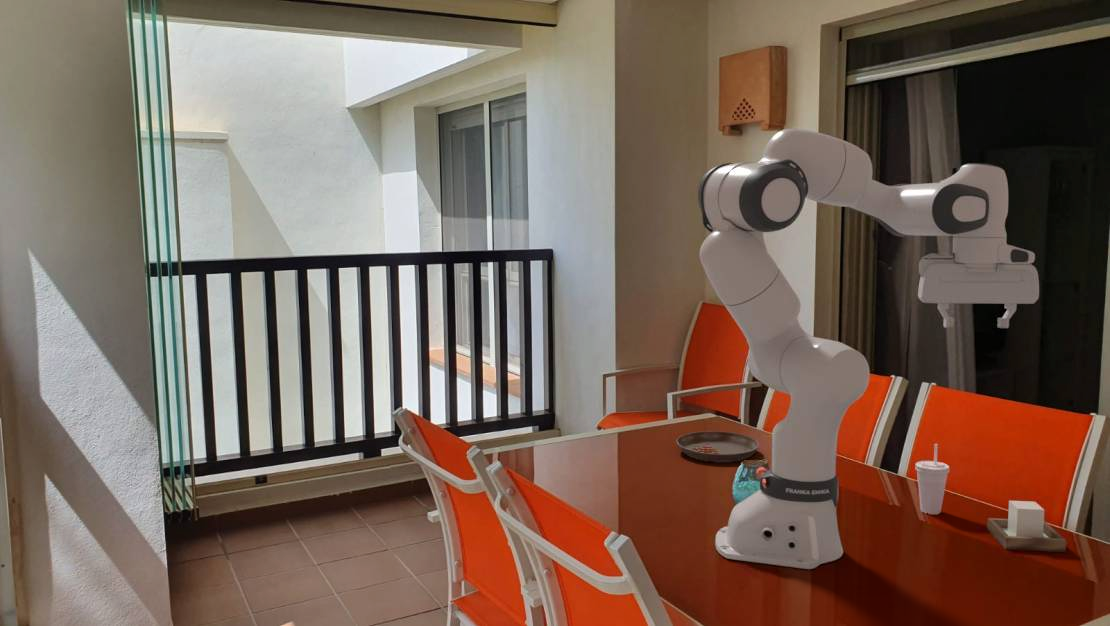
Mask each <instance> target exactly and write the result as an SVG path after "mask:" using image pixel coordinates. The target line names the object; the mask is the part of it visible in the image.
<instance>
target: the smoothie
mask: <svg viewBox="0 0 1110 626" xmlns="http://www.w3.org/2000/svg"><path fill="white" fill-rule="evenodd" d="M933 449H934V451H933V460H920V461H917V462H916V463H915V467H914V468H915V470H916V473H917V474H916V475H917V486H918V496H919V507H920V512H921V513H923V512H924V514H927V513H928V515H939V513H940V514H941V512H942V511H941V510H942V506H943V501H944V496H945V490H946V483H947V478H948V473H950V466H949V465H948V464H946V463H944V462H942V461H941V462H940V461H938V443H934V448H933Z"/></svg>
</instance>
